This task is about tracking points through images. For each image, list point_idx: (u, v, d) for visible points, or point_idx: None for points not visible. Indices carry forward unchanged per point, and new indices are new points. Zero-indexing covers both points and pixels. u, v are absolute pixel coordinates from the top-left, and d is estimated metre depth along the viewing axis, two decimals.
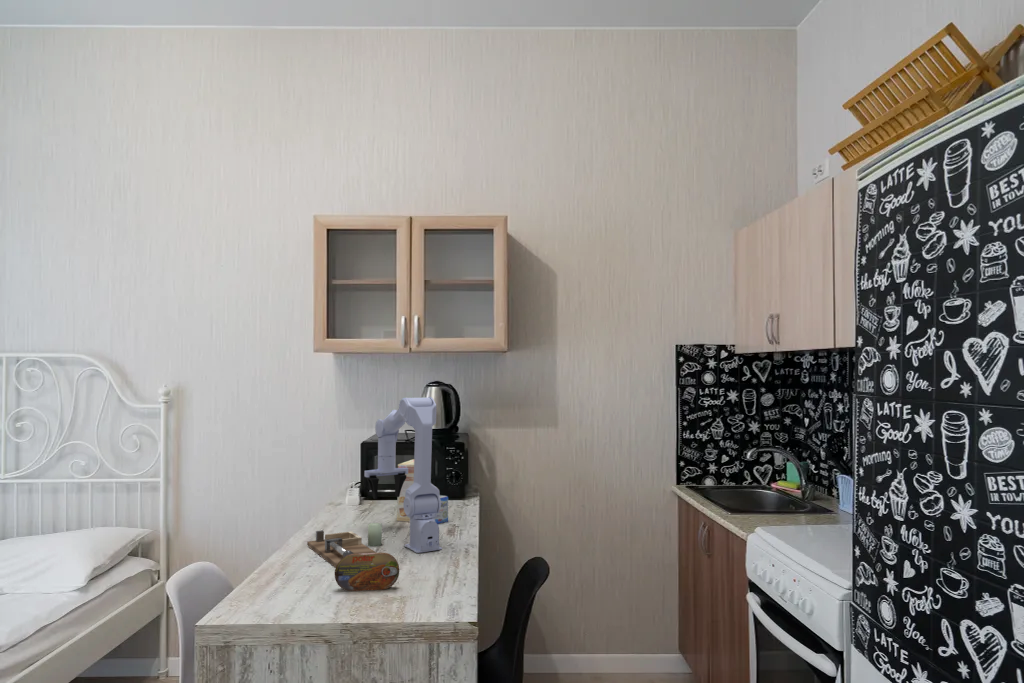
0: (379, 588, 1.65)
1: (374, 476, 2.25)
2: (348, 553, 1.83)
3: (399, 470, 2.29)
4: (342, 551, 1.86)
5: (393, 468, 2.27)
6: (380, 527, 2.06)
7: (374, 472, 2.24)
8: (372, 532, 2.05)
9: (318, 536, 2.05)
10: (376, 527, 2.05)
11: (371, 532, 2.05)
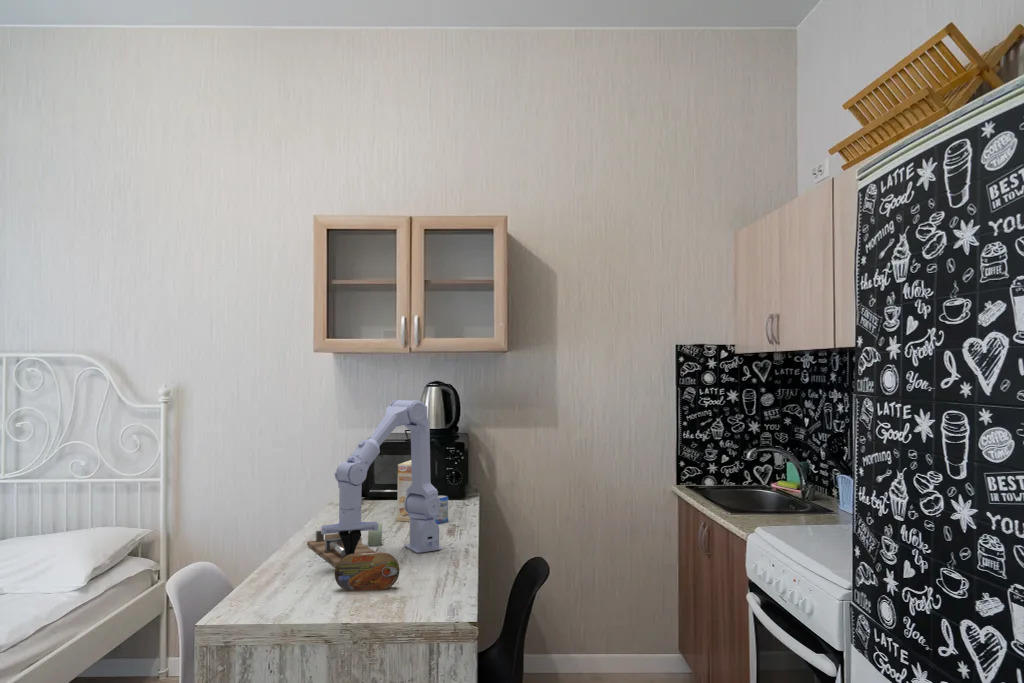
0: (379, 588, 1.65)
1: None
2: None
3: (365, 526, 1.83)
4: (340, 550, 1.88)
5: (356, 524, 1.82)
6: (381, 527, 2.07)
7: (332, 528, 1.81)
8: (373, 532, 2.05)
9: (318, 536, 2.05)
10: None
11: (372, 531, 2.05)
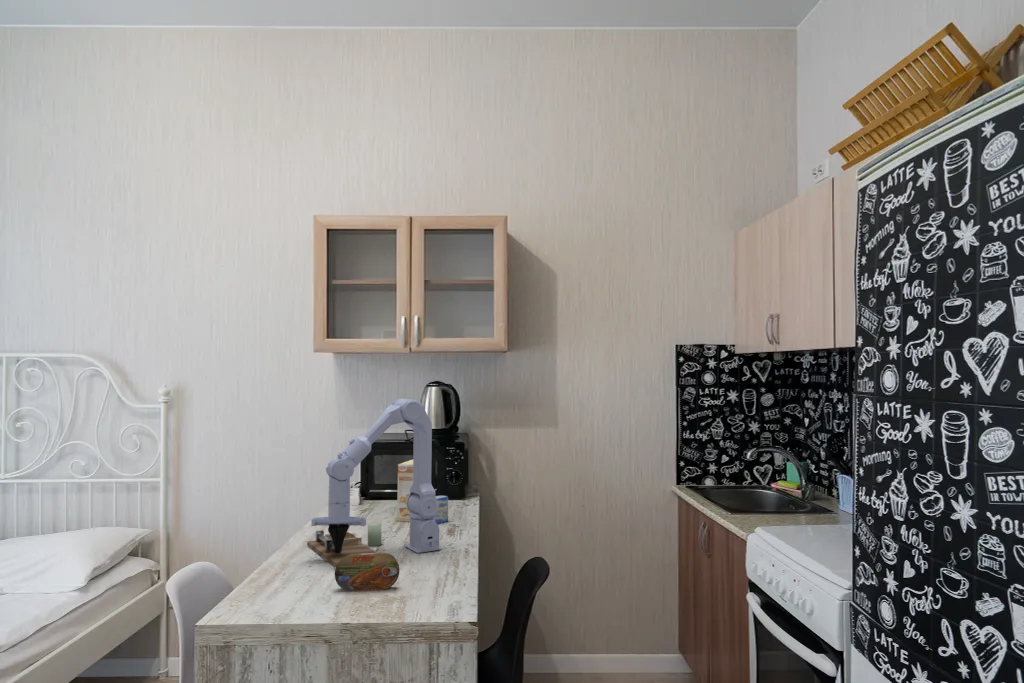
0: (379, 588, 1.65)
1: (321, 525, 1.90)
2: None
3: (351, 521, 1.89)
4: (330, 543, 1.95)
5: (342, 518, 1.89)
6: (380, 527, 2.06)
7: (320, 521, 1.89)
8: (372, 532, 2.05)
9: None
10: (376, 527, 2.05)
11: (372, 532, 2.05)
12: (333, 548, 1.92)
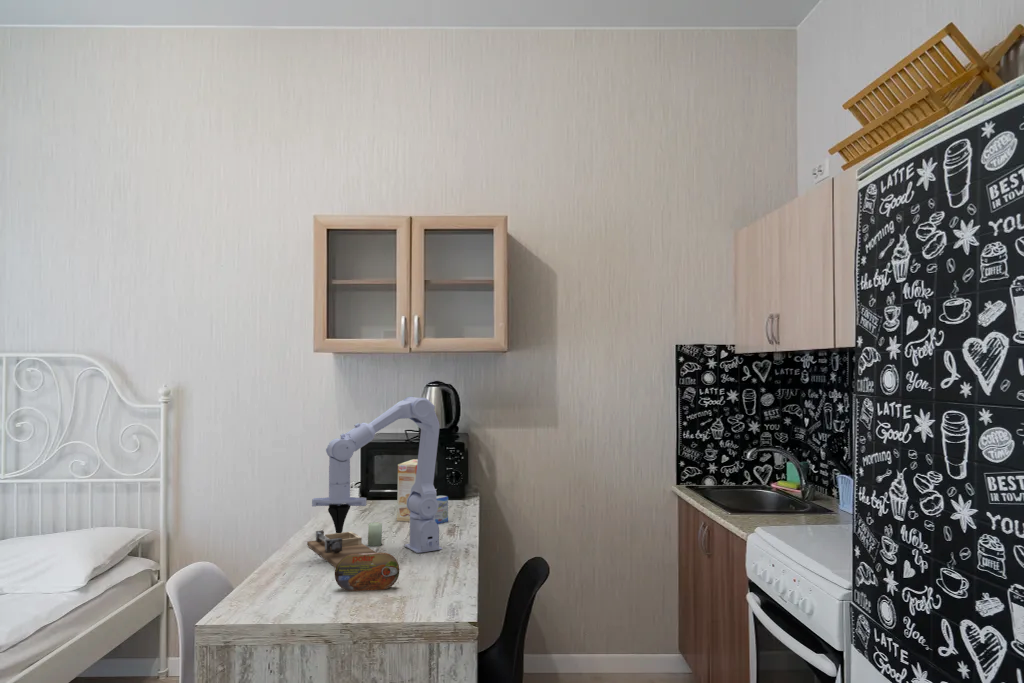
0: (379, 588, 1.65)
1: None
2: (336, 545, 1.92)
3: (351, 501, 1.90)
4: (330, 543, 1.95)
5: (342, 498, 1.89)
6: (381, 527, 2.07)
7: (320, 501, 1.90)
8: (373, 532, 2.05)
9: None
10: (378, 527, 2.05)
11: (373, 532, 2.05)
12: (333, 548, 1.91)
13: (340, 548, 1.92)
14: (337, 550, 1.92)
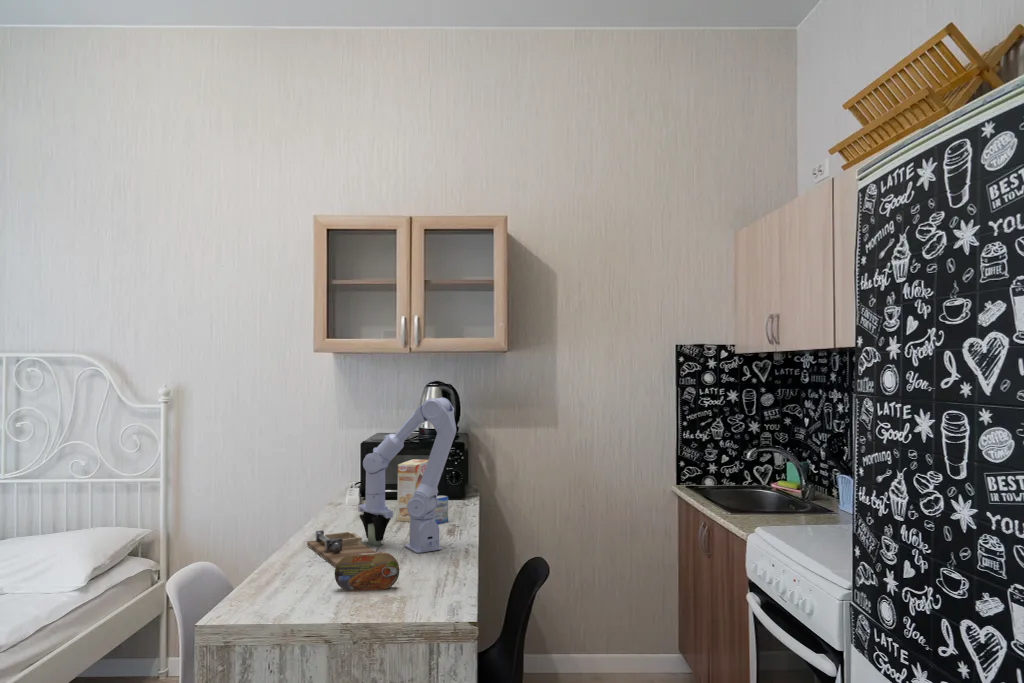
0: (379, 588, 1.65)
1: None
2: (336, 545, 1.92)
3: (377, 511, 2.04)
4: (330, 543, 1.95)
5: (371, 508, 2.05)
6: None
7: (361, 507, 2.10)
8: None
9: None
10: None
11: None
12: (333, 548, 1.91)
13: (340, 548, 1.92)
14: (337, 550, 1.92)
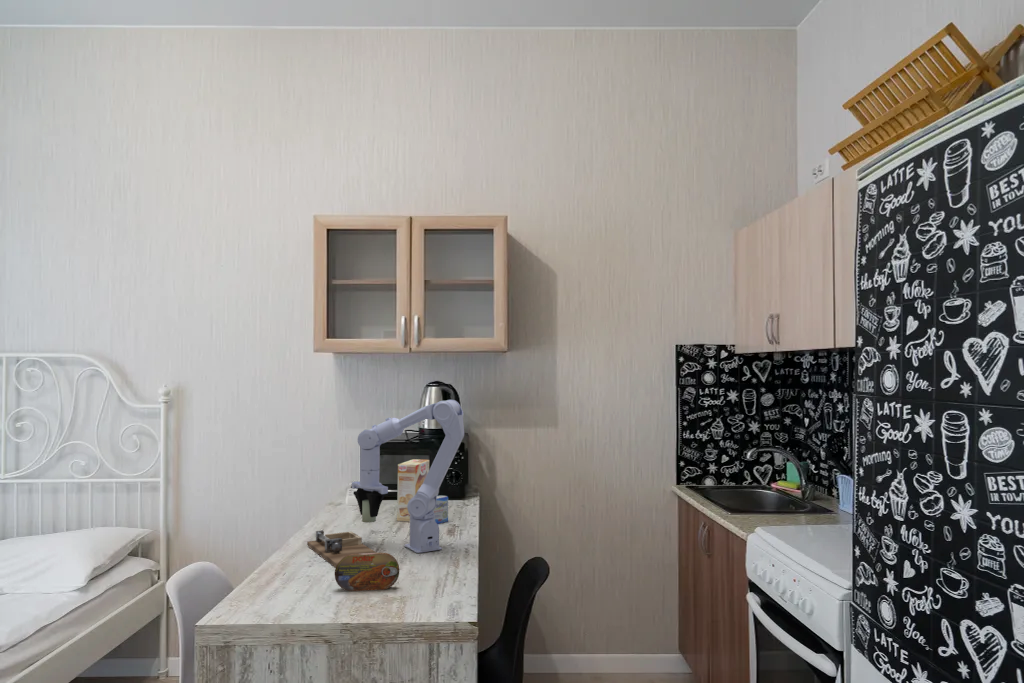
0: (379, 588, 1.65)
1: (357, 489, 2.09)
2: (336, 545, 1.92)
3: (372, 487, 2.03)
4: (330, 543, 1.95)
5: (365, 484, 2.04)
6: None
7: (355, 484, 2.09)
8: None
9: None
10: None
11: (369, 508, 2.05)
12: (333, 548, 1.91)
13: (340, 548, 1.92)
14: (337, 550, 1.92)
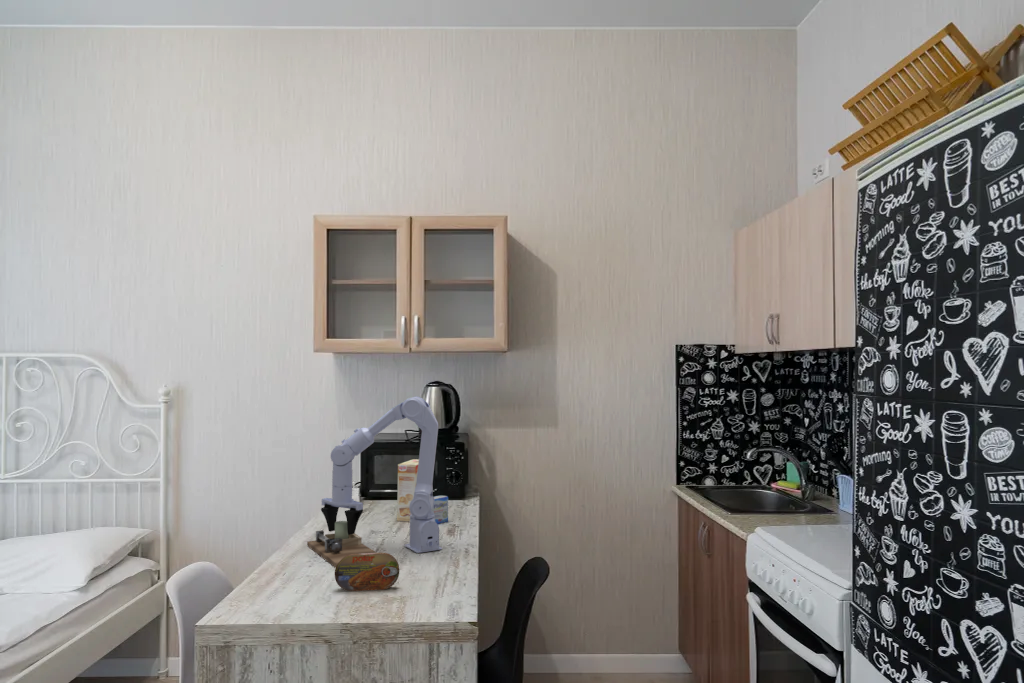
0: (379, 588, 1.65)
1: (328, 506, 2.06)
2: (336, 545, 1.92)
3: (347, 504, 2.01)
4: (330, 543, 1.95)
5: (339, 500, 2.01)
6: None
7: (326, 501, 2.05)
8: (344, 530, 2.02)
9: None
10: None
11: (343, 530, 2.02)
12: (333, 548, 1.91)
13: (340, 548, 1.92)
14: (337, 550, 1.92)
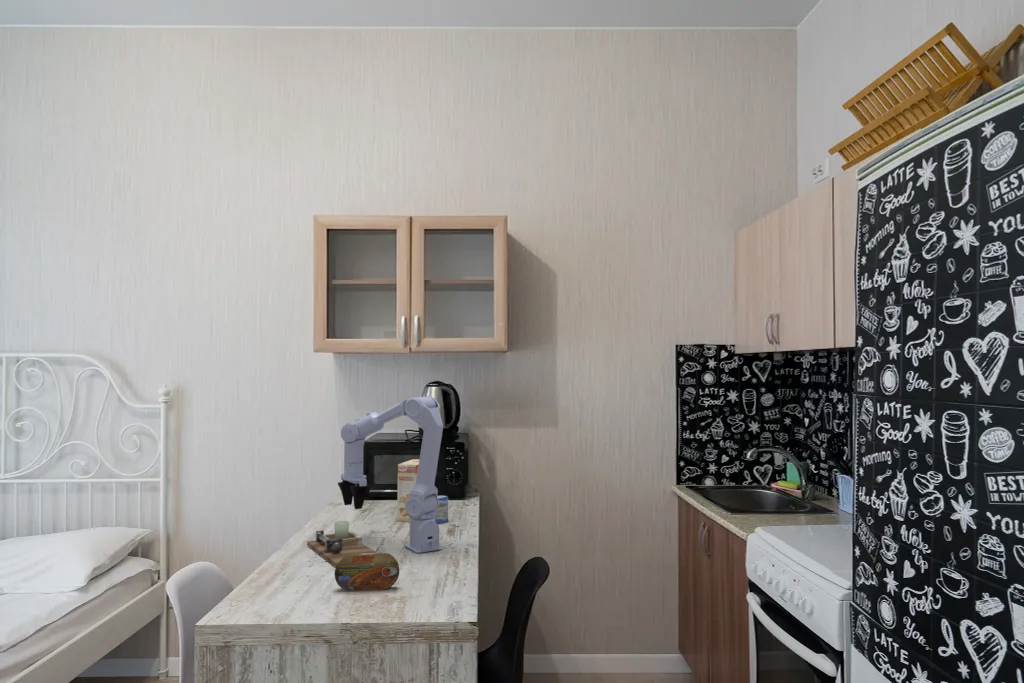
0: (379, 588, 1.65)
1: (344, 480, 2.17)
2: (336, 545, 1.92)
3: (352, 480, 2.10)
4: (330, 543, 1.95)
5: (347, 476, 2.11)
6: None
7: (342, 476, 2.17)
8: (343, 530, 2.02)
9: None
10: (347, 524, 2.03)
11: (343, 530, 2.02)
12: (333, 548, 1.91)
13: (340, 548, 1.92)
14: (337, 550, 1.92)
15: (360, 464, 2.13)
